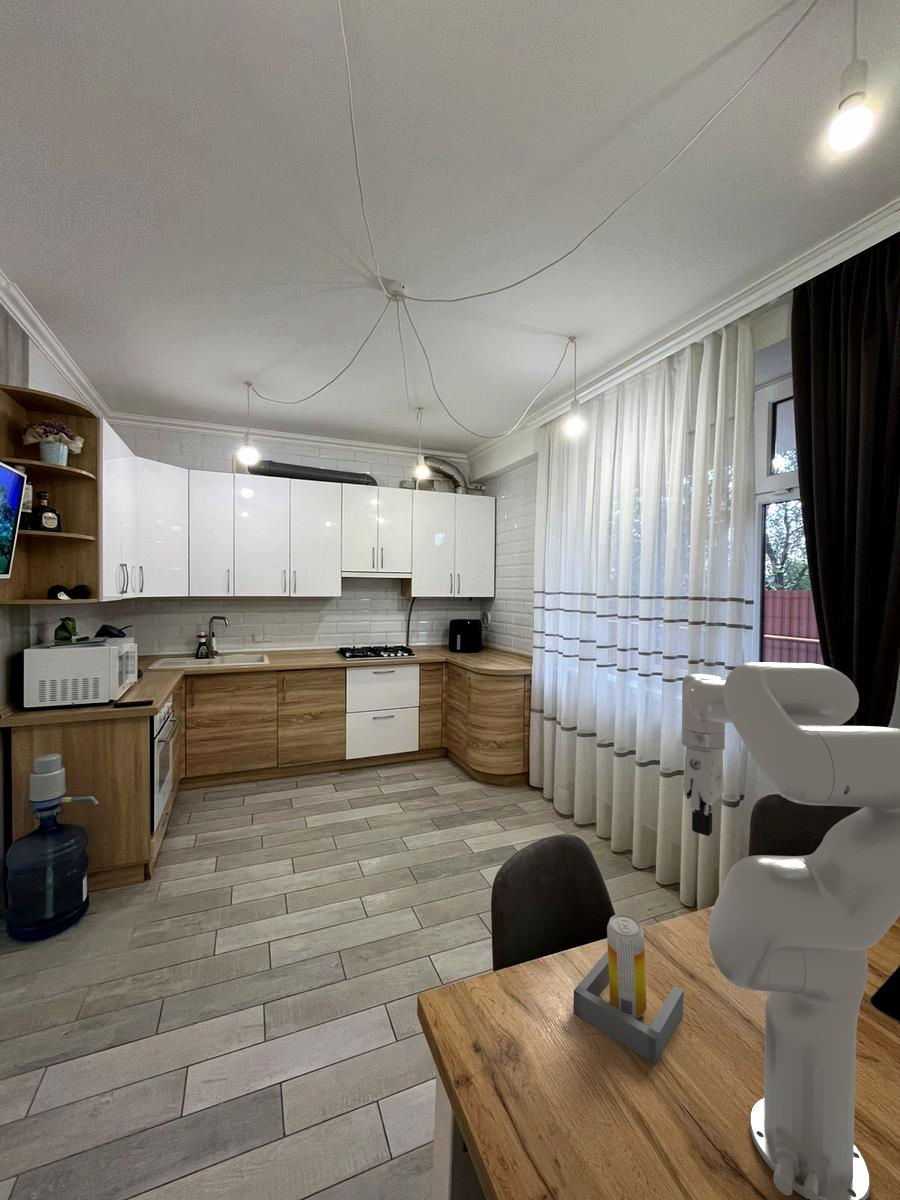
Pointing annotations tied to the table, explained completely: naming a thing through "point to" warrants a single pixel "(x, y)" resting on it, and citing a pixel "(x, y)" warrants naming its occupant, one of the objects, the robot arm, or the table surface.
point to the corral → (619, 1023)
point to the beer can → (626, 965)
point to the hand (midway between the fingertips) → (702, 832)
